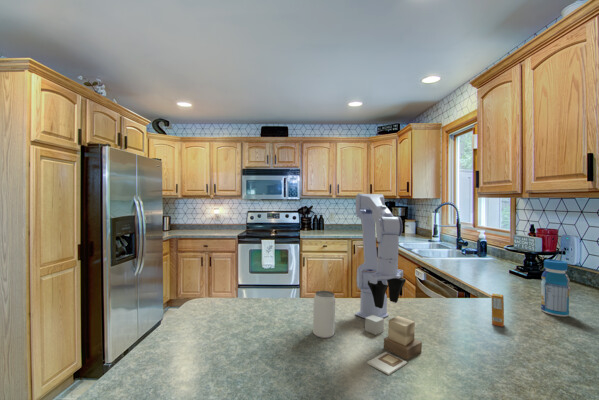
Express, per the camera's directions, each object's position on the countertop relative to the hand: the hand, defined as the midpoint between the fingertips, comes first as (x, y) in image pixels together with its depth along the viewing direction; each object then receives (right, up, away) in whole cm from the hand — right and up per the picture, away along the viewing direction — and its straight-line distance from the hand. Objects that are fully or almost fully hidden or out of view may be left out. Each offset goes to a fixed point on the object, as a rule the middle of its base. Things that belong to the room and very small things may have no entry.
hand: (386, 304), depth 83 cm
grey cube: (-2, -10, +6) cm, 12 cm away
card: (-4, -10, -12) cm, 16 cm away
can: (-18, -10, +3) cm, 21 cm away
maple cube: (+3, -8, -5) cm, 10 cm away
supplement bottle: (+73, -13, +27) cm, 79 cm away
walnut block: (+3, -11, -5) cm, 12 cm away
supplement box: (+42, -12, +14) cm, 46 cm away
